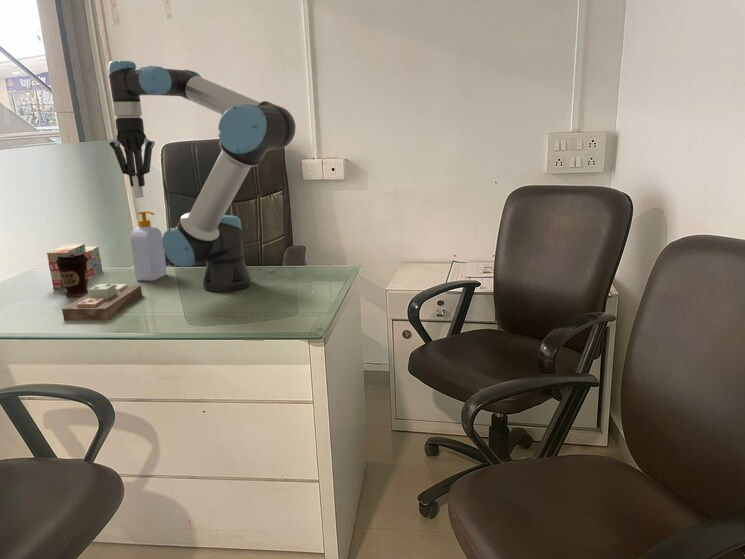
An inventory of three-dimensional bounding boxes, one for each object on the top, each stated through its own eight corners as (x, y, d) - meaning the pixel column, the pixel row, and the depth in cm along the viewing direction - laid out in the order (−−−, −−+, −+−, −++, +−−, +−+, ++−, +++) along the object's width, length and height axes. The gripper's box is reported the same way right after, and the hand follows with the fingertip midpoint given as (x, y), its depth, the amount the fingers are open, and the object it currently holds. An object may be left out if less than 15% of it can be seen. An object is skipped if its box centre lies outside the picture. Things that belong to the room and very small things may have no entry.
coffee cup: (79, 299, 169) (72, 258, 166) (55, 298, 171) (48, 257, 167) (98, 291, 177) (92, 251, 174) (75, 289, 179) (68, 250, 176)
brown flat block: (142, 295, 172) (140, 285, 172) (107, 319, 151) (105, 308, 150) (104, 295, 173) (102, 285, 172) (63, 319, 152) (61, 308, 151)
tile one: (128, 293, 171) (126, 283, 170) (120, 298, 166) (119, 288, 165) (112, 293, 171) (110, 283, 170) (104, 298, 166) (102, 288, 165)
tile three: (105, 308, 157) (104, 297, 157) (96, 314, 153) (94, 303, 152) (88, 308, 158) (86, 297, 157) (78, 314, 153) (76, 303, 152)
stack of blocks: (85, 271, 202) (80, 238, 198) (102, 271, 202) (97, 238, 198) (53, 288, 181) (46, 252, 178) (72, 288, 181) (65, 251, 178)
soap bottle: (154, 281, 187) (145, 214, 181) (135, 280, 188) (126, 213, 182) (169, 274, 195) (161, 209, 189) (151, 273, 197) (142, 209, 190)
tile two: (116, 294, 164) (114, 283, 163) (108, 299, 159) (106, 288, 158) (99, 294, 164) (98, 283, 163) (90, 299, 159) (89, 288, 158)
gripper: (155, 117, 168) (165, 195, 174) (113, 117, 168) (124, 195, 175) (145, 116, 161) (155, 198, 167) (100, 117, 161) (112, 199, 168)
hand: (139, 197), depth 171 cm, fingers closed
